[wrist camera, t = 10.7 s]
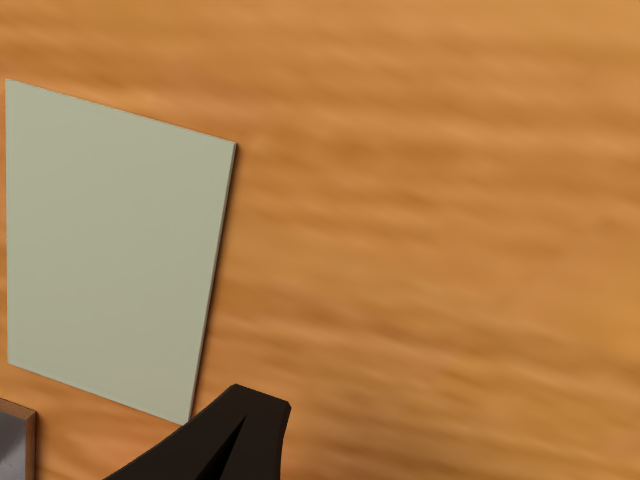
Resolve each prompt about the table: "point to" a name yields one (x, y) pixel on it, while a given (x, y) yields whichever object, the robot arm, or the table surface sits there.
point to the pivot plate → (17, 442)
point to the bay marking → (111, 247)
